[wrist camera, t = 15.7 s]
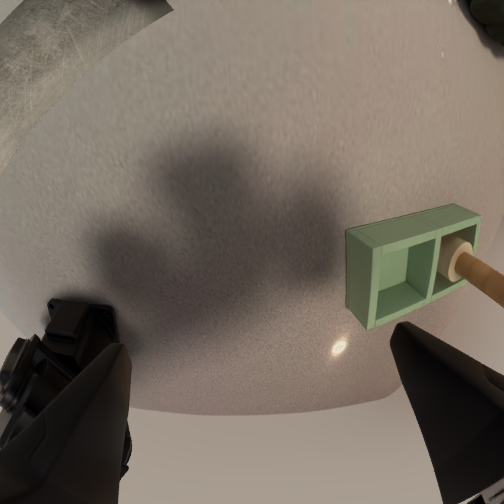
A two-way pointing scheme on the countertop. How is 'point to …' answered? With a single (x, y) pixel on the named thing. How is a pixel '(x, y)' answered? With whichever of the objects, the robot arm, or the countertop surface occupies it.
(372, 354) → the countertop surface
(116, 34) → the meat cleaver
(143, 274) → the countertop surface
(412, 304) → the green divided tray
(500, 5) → the squash
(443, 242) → the dish brush
